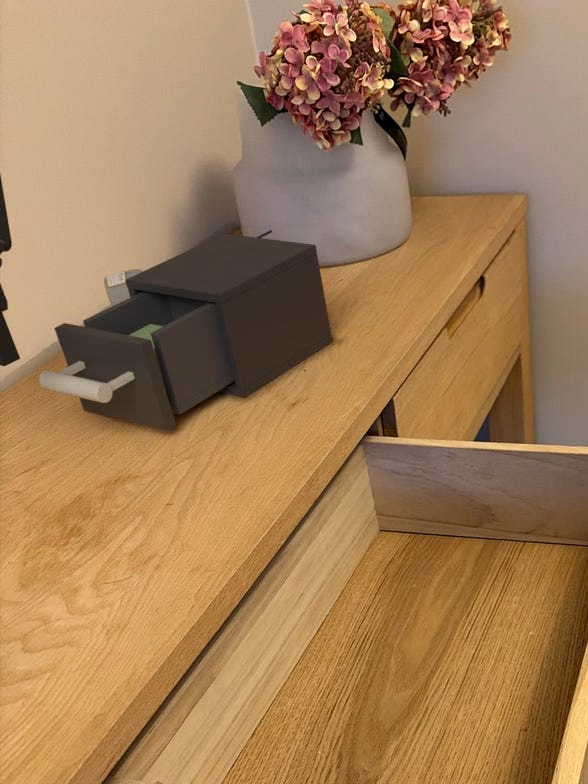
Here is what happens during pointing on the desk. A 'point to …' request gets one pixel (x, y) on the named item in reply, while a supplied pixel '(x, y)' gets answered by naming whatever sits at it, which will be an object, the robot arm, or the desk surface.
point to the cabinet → (251, 301)
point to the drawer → (144, 359)
